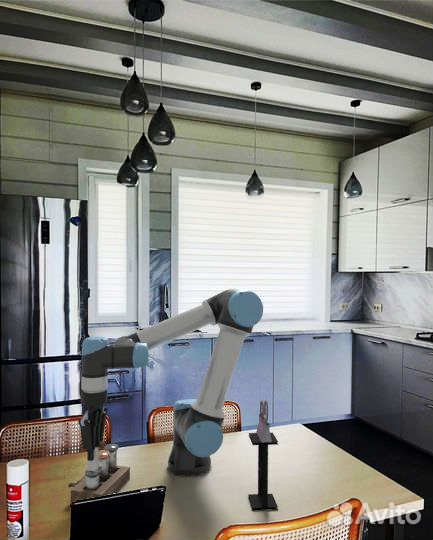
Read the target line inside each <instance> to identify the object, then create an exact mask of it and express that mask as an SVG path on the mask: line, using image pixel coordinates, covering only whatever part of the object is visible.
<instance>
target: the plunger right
mask: <svg viewBox="0 0 433 540" xmlns="http://www.w3.org/2000/svg"><path fill="white" fill-rule="evenodd" d="M118 450H119V445H118V444H116V443H108V444H105V445H104V446H103V451H109V452H110V456H109V457H108V473H110V474H111V473H115V472H116V471H117V466H118V465H117V464H118V462H117V461H118Z"/></svg>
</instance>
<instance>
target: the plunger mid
mask: <svg viewBox="0 0 433 540" xmlns="http://www.w3.org/2000/svg"><path fill="white" fill-rule="evenodd" d="M109 456H110V452H109V451H104V450H100V451H99V450H98V468H100V469H101V473H100V474H99V481H100V482H103V481H106V480H108V457H109Z"/></svg>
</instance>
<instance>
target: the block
mask: <svg viewBox="0 0 433 540" xmlns="http://www.w3.org/2000/svg"><path fill="white" fill-rule="evenodd" d="M130 480H131V467H130V466H123V465H117V471H116V472H115V473H111V474H110V473H108V480H106V481H103V482H100V481H99V488H98V489H97V490H96V491H91V490H86V478H85V479H83V480H82V481H81V482H80V483H79V484H77V485H75V487H72V489H71V490H70V504H71V503H72V502H73V501H76V500H81V499H87V498H92V497H99V496H104V495H108V494H113V493H116V494H118V493H119V491H121V490H122V489H123V487H124V486H125V485H126V484H127V483H128V482H129V481H130Z"/></svg>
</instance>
